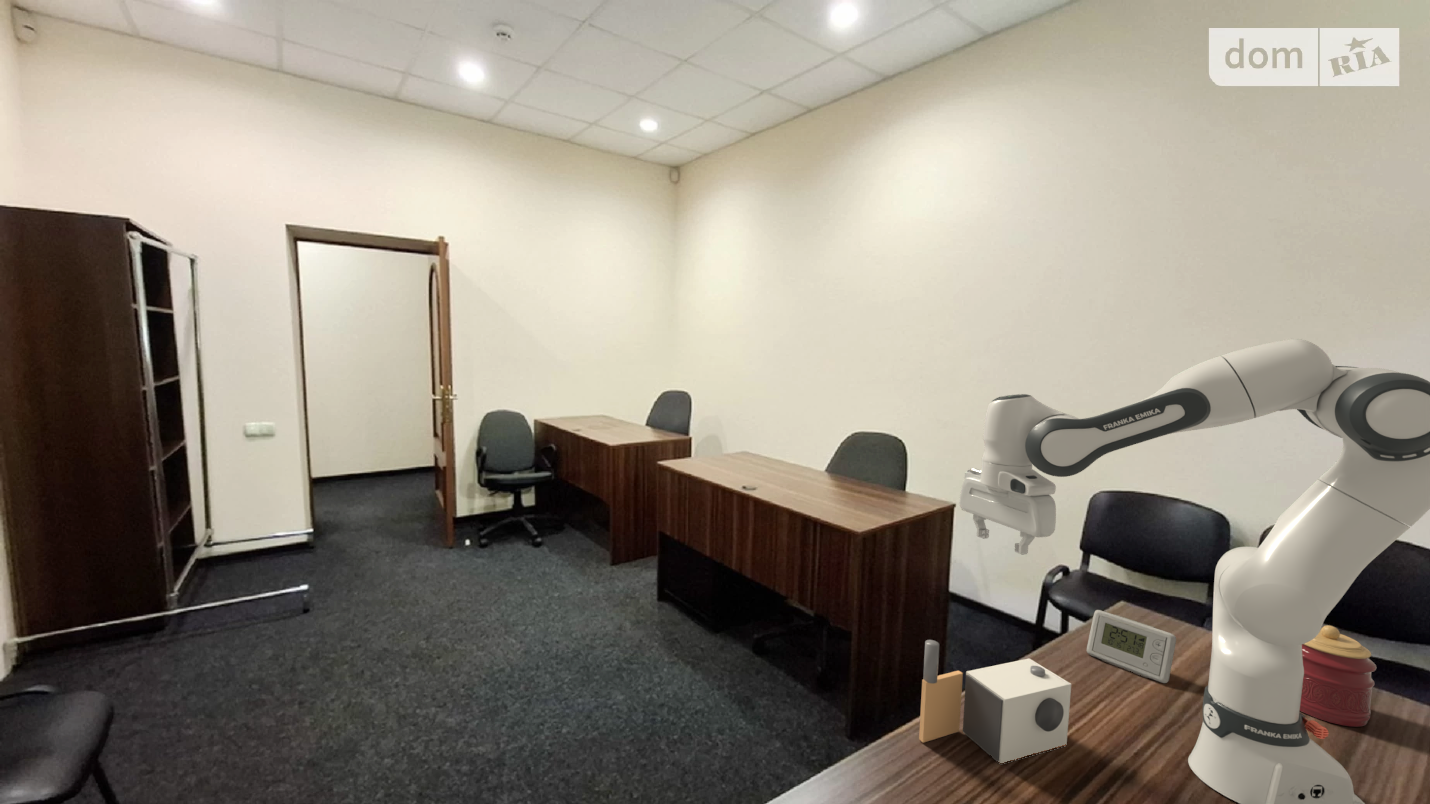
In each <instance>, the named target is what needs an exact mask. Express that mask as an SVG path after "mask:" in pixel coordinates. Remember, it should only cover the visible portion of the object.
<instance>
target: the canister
mask: <svg viewBox="0 0 1430 804" xmlns="http://www.w3.org/2000/svg"><path fill="white" fill-rule="evenodd" d="M1370 657H1372V652H1371V651H1370V650H1369V649H1368V648H1367V647H1365V646H1363V645H1362V644H1361V643H1360V642H1359V641H1357V640H1356V639H1354V638H1352V637H1349V636H1347V635H1345V634H1342V633H1340V631H1339V629H1338V628H1337V627H1335V626H1333V625H1330V624H1329V625H1328V624H1327V625H1324V626H1323V625H1322V627H1321V630H1320V632H1319V633H1318V635H1317V636H1316V637H1315V638H1314V639H1312V640H1311V641H1309V642H1307V643H1305V644H1302V658H1303V667H1304V677H1303V685H1302V694H1301V703H1300V711H1299V712H1300V713H1302V714H1303V713H1304V714H1306V715H1308V716H1310V717H1313V718H1315V719H1318V720H1321V721H1324V722H1327V723H1331V724H1336V725H1339V726H1343V727H1345V726H1346V727H1351V728H1352V727H1354V728H1355V727H1357V728H1358V727H1359V728H1360V727H1363V726H1366V725H1368V721H1369V720H1370V719H1371V713H1372V712H1371V701H1372V696H1373V694H1372V693H1373V687H1374V686H1375V681H1374V680H1373V677H1372V672H1375V671H1377V665H1376V664H1375V662H1373V661H1372V660H1371V659H1370Z"/></svg>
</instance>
